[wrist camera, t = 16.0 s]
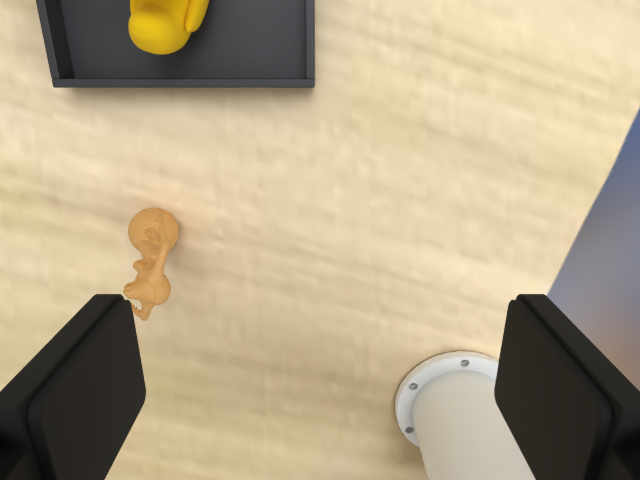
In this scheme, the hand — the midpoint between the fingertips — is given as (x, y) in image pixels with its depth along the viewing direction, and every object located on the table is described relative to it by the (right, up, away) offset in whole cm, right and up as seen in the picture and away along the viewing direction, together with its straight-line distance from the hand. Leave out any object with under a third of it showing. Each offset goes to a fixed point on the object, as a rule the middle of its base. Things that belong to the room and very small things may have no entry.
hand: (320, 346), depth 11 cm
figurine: (-13, +4, +29) cm, 32 cm away
